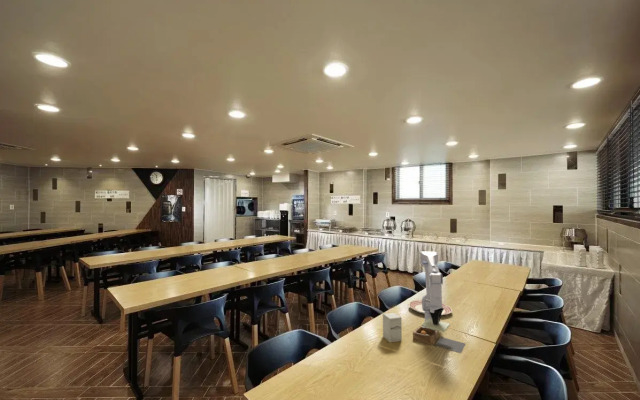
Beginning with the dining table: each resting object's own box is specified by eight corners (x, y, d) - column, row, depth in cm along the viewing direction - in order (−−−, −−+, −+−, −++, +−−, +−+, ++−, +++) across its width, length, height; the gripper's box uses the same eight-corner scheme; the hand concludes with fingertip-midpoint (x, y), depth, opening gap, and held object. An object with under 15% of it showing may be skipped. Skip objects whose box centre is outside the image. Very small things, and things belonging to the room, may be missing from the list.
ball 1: (421, 334, 150) (421, 329, 150) (427, 336, 148) (427, 330, 148) (419, 336, 148) (419, 331, 148) (425, 338, 146) (425, 332, 146)
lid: (428, 319, 151) (428, 311, 151) (449, 325, 144) (449, 317, 144) (421, 326, 142) (421, 317, 142) (444, 332, 135) (444, 323, 135)
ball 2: (425, 338, 146) (425, 332, 146) (431, 340, 144) (431, 334, 144) (423, 340, 143) (423, 334, 143) (429, 342, 141) (429, 336, 142)
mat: (441, 337, 147) (441, 336, 147) (465, 344, 140) (465, 343, 140) (434, 346, 138) (434, 345, 138) (460, 354, 130) (460, 353, 131)
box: (419, 333, 153) (419, 326, 153) (438, 338, 146) (438, 330, 147) (412, 339, 145) (412, 332, 145) (432, 345, 139) (432, 337, 139)
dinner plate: (443, 304, 199) (443, 300, 199) (459, 319, 172) (458, 314, 172) (405, 303, 202) (405, 299, 202) (414, 318, 175) (414, 313, 175)
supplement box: (389, 343, 141) (389, 318, 142) (382, 337, 148) (382, 313, 149) (402, 341, 143) (401, 317, 144) (394, 335, 150) (394, 312, 151)
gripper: (432, 291, 152) (432, 316, 151) (423, 298, 140) (423, 325, 140) (445, 294, 147) (446, 319, 146) (437, 301, 136) (438, 328, 135)
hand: (436, 322), depth 143 cm, fingers closed on lid, 3 cm apart
